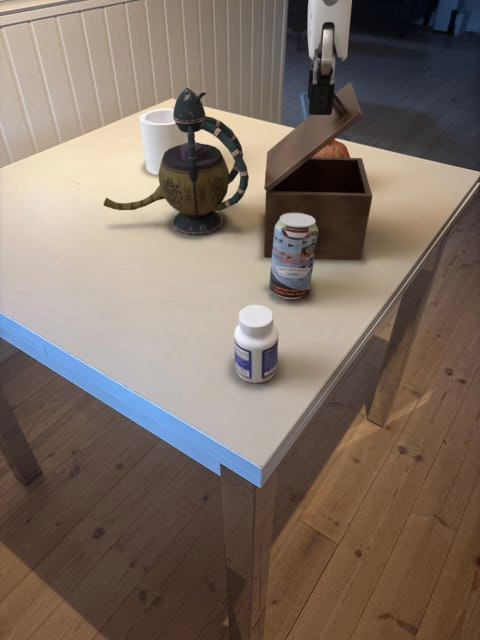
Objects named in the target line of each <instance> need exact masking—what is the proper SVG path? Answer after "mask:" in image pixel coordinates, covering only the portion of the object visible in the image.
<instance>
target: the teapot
mask: <svg viewBox="0 0 480 640" xmlns="http://www.w3.org/2000/svg"><path fill="white" fill-rule="evenodd" d="M206 95H208V93H207V92H204V91H203V92H202V91H201V92H200V93H199V94H198V95H197V94H196V92H194V91H193V90H192V89H190V88H189V87H186V88H185V89H184V90H183V91H181V92H180V94H179V95H178V97H177V98H176V100H175V103H174V107H173V109H174V112H173V120H174V121H175V123H176V125H177V126H178V128H179V130H180V131H182V132H185V133H188V134H187V137H188V143H184V144H182V145H178V146H175V147H172V148H170V149H168V150H167V151H166V152H165V153H164V155H163V158H162V161H161V164H160V168H159V174H158V175H157V176H158V183H159V185H158V186H157V188H156V189H155V191H154V192H152V193H151V194H150V195H149V196H147V197H145V198H144V199H141V200H138V201H132V202H127V203H126V202H116V201H113V200H112V199H110V198H108V197H105V199H104V202H103V206H104V207H106V208H109V209H112V210H117V211H135V210H138V209H140V208H145V207H147V206H149V205H150V204H153V203H155V202H157V201H161V200H166V202H167V203H168V204H169V206H170V207H171V208H173V209H175V210H176V211H178V213H177V214H176V215H174V217H173V219H172V223H171V224H172V227H173V229H174V230H175V231H176V232H178V233H180V234H182V235H186V236H190V237H200V236H206V235H210V234H212V233H215V232H216V231H218V230H219V229H220V228H221V227H222V225H223V217H222V215H221V214H220V213H218V212H222V211H224V210H226V209H228V208H230V207H232V206H235V205H236V204H239V202H240V201H241V200H242V199H243V197H244V195H245V193H246V191H247V189H248V187H249V186H248V185H249V179H250V178H249V177H250V176H249V172H248V166H247V164H246V162H245V160H244V153H243V152H244V151H243V147H242V144H241V142H240V140H239V138H238V137H237V135H236V134H235V132H234V131H233V130H232V129H231V128H230V127H229V126H228V125H226V124H225V123H224V122H223V121H222V120H219V119H217V118H215V117H212V116H207V115H206V111H205V107H204V105H203V103H202V101H201V99H202V98H203V97H204V96H206ZM202 130H203V131H204V132H207V133H209V134H211V135H212V136H213V137H215V138H216V139H218V140H219V141H220V143H221V144H223V146H224V147H225V148H226V149H227V150H228V152H229V153H230V155H231V157H232V159H233V160H234V163H233V166H232V168H231V170H230V171H229V167H228V164H227V162H226V160H225V158H224V155H223V153H222V152H221V150H220V149H219V148H218V147H216V146H213V145H212V144H211V145H210V144H207V143H201V142H197V141H196V134H195V133H197V132H200V131H202ZM238 175H239V184H238V187H237V189H236V192H235V193H234V194H233V195H232V197H230V198H228V199H226V200H224V199H225V198H226V196H227V194H228V189H229V185H230V184H231V183H232V182H234V180H235V179H236V177H237V176H238Z"/></svg>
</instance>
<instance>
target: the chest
mask: <svg viewBox="0 0 480 640" xmlns="http://www.w3.org/2000/svg"><path fill="white" fill-rule="evenodd" d="M372 201H373V193H372V190H371V186H370V182H369V178H368V175H367V172H366V168H365V164H364V160H363V158H362V157H350V158H333V157H312V158H310V159H309V160H308V161H307V162H305V163H304V164H303V165H301V166H300V167H299V168H298V169H296V170H295V171H294V172H293V173H291V174H290V175H289V176H288V177H286V178H285V179H284V180H283V181H281V182H280V183H279V184H277V185H276V186H275V187H274V188H272V189H271V190H270V191H269V192H267V191H266V190H265V202H264V203H265V205H264V207H265V208H264V210H265V211H264V215H265V216H264V242H263V243H264V247H263V257H264V258H272V251H273V240H274V230H275V225H276V223H277V222H278V221H279V220H280V216H281V215H283V214H286V213H302V214H306V215H309V216H311V217H313V218H314V219H315V224H316V226H317V228H318V237H317V243H316V250H315V257H314V260H315V259H316V260H317V259H318V260H322V259H323V260H342V261H343V260H345V261H362V255H363V250H364V244H365V240H366V233H367V230H368V224H369V218H370V213H371V207H372Z"/></svg>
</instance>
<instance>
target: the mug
mask: <svg viewBox="0 0 480 640" xmlns="http://www.w3.org/2000/svg"><path fill="white" fill-rule="evenodd" d="M173 112H174V108H170V107H165V108H156V109H151V110H147V111H144V112H143V113H141V114H140V115H139V118H138V120H139V128H140V134H141V142H142V148H143V154H144V162H145V168H146V170H147V172H149V173H150V174H152V175H155V176H159V175H158V174H159V168H160V164H161V161H162V158H163V155H164V153H165V152H166V151H167V150H168V149H170V148H172V147H175V146H178V145H182V144H184V143H188V137H187V134H188V133H185V132H182V131H180V130H179V128H178V126H177V125H176V123H175V121H174V120H173Z"/></svg>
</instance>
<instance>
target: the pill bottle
mask: <svg viewBox="0 0 480 640" xmlns="http://www.w3.org/2000/svg"><path fill="white" fill-rule="evenodd" d="M233 345H234V346H233V347H234V348H233V349H234V365H235V366H234V367H235V372H236V373H237V375H238V376H239V378H241V379H242V380H244V381H246V382H249V383H252V384H253V383H254V384H257V383H258V384H259V383H264V382H267V381H269V380H271V379H272V378H273V377H274V376H275V374H276V373H277V370H278V356H279V355H278V351H279V330H278V328H277V326H276V325H275V324H274V313H273V311H272V310H271V309H270V307H269V308H268V307H267V306H265V305H262V304H250V305H247V306H245V307H243V308H242V309H241V310H240V311H239V313H238V324H237V326H235V329H234V333H233Z"/></svg>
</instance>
